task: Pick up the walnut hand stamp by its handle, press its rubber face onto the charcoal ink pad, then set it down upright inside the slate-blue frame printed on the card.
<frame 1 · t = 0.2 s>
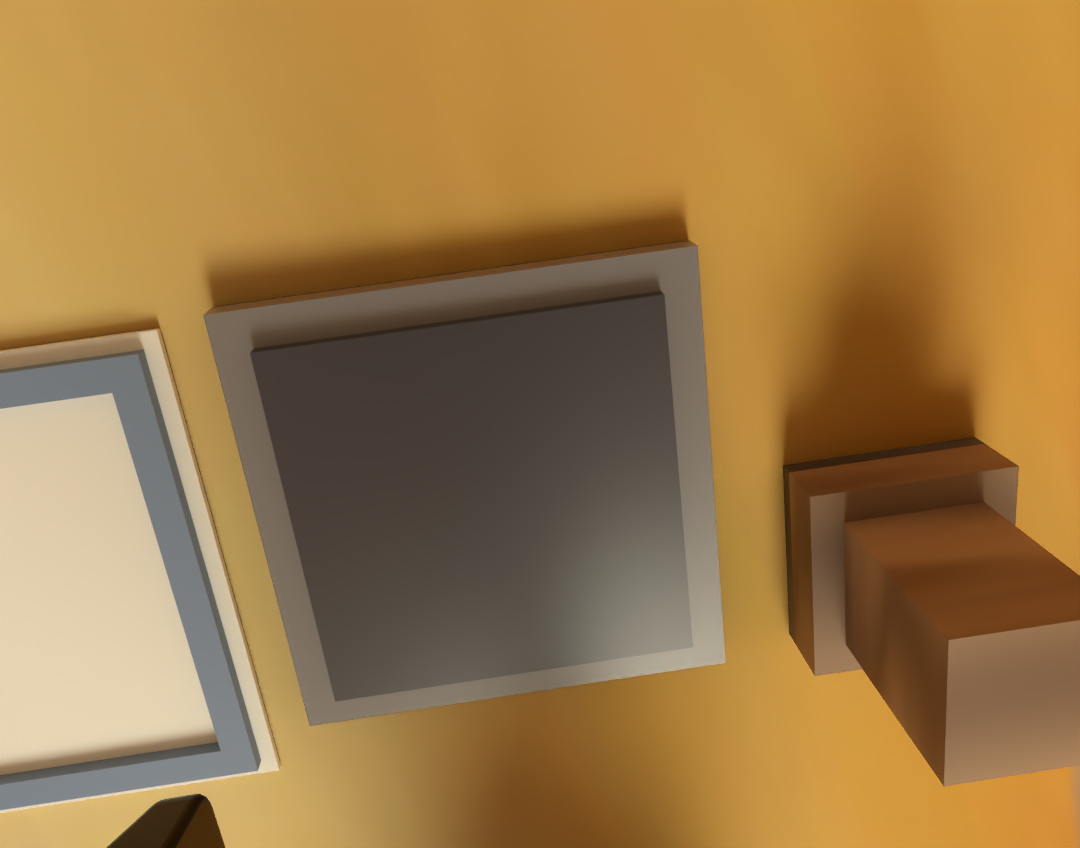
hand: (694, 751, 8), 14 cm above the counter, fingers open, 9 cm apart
ink pad: (487, 491, 23), on the counter
stamp: (878, 537, 24), on the counter
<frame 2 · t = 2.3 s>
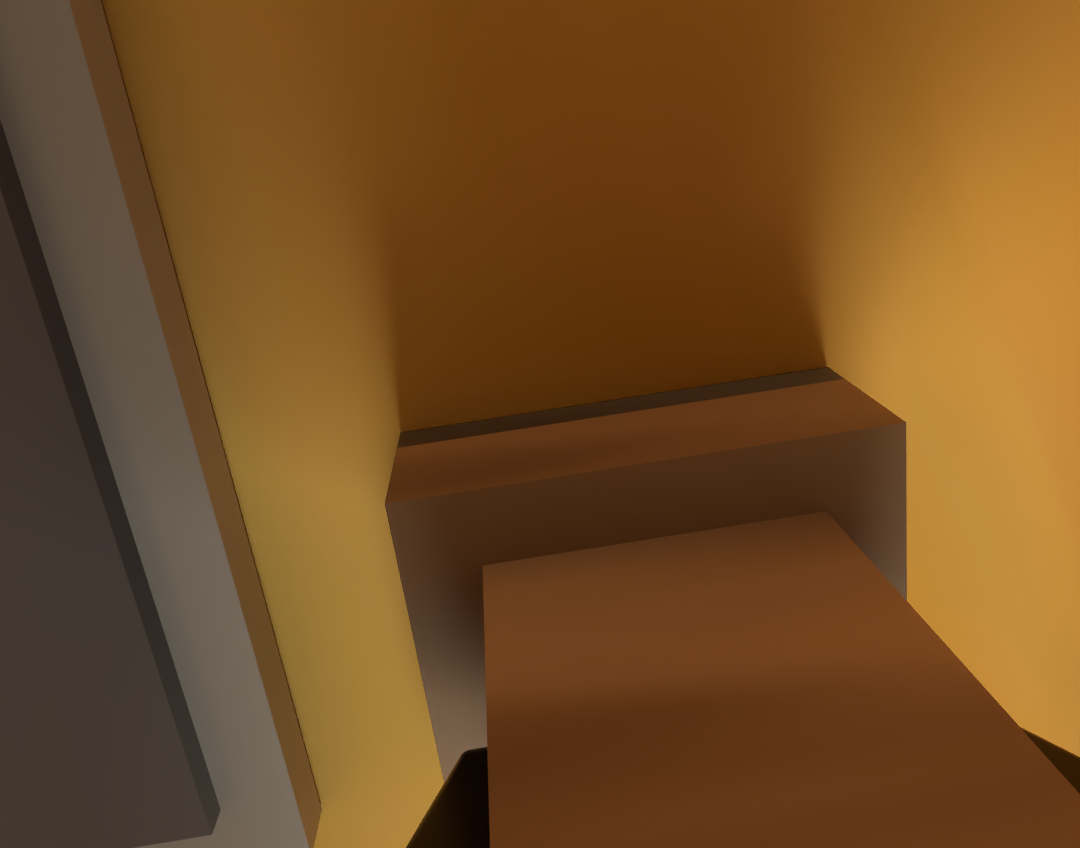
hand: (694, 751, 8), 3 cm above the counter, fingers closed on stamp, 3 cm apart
stamp: (637, 589, 11), on the counter, touching gripper
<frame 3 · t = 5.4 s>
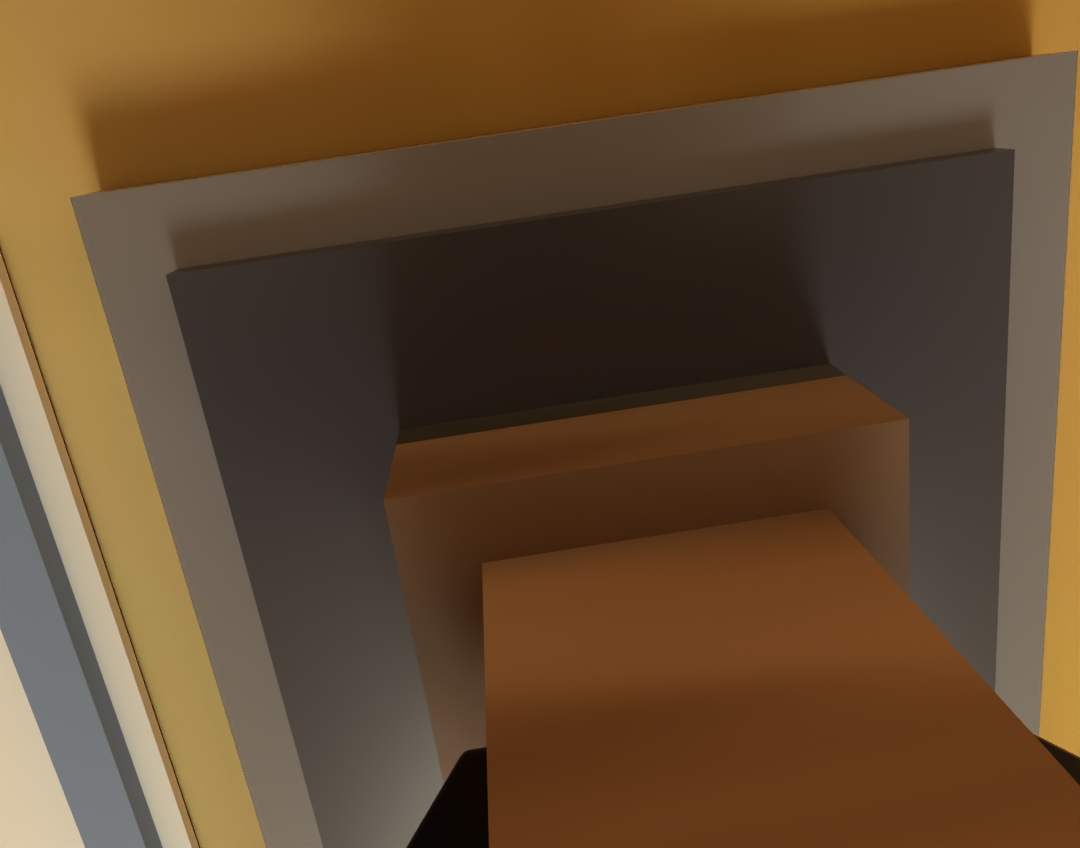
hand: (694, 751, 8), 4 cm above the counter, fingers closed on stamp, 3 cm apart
ink pad: (622, 544, 12), on the counter
stamp: (637, 587, 11), point 1 cm above the counter, touching gripper, ink pad
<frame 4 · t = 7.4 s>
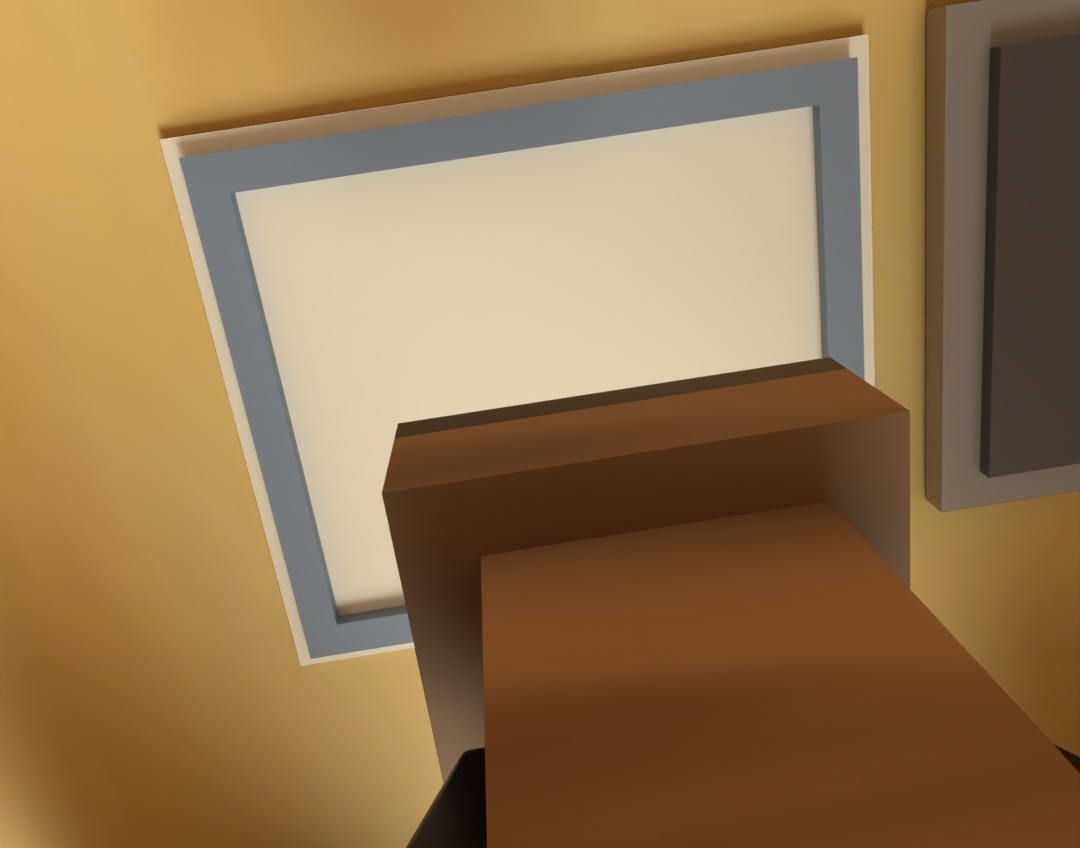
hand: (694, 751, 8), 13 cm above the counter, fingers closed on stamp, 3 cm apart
marked sheet: (557, 377, 20), on the counter
stamp: (637, 581, 11), point 10 cm above the counter, touching gripper
when the fingers open (4 cm above the counter, at t = 8.9 s): stamp stays where it is, resting on marked sheet.
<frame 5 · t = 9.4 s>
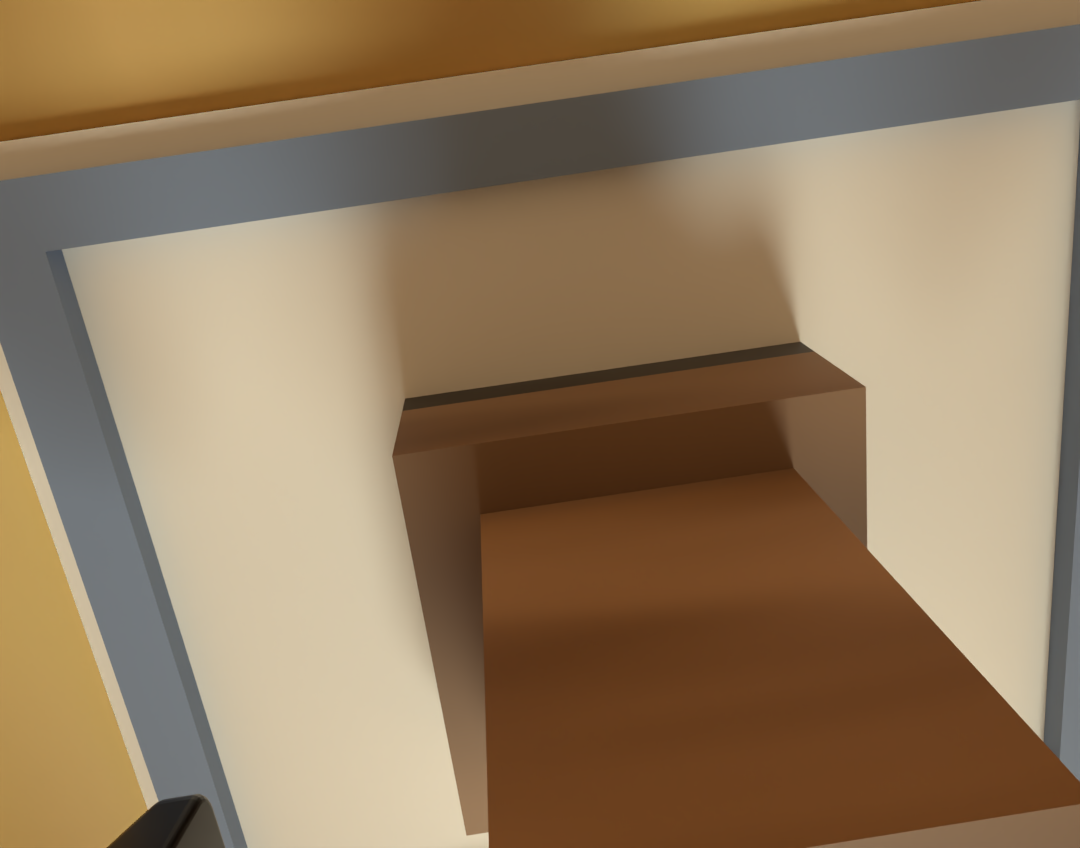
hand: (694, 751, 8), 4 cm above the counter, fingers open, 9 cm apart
marked sheet: (621, 546, 12), on the counter
stamp: (623, 547, 12), resting on marked sheet
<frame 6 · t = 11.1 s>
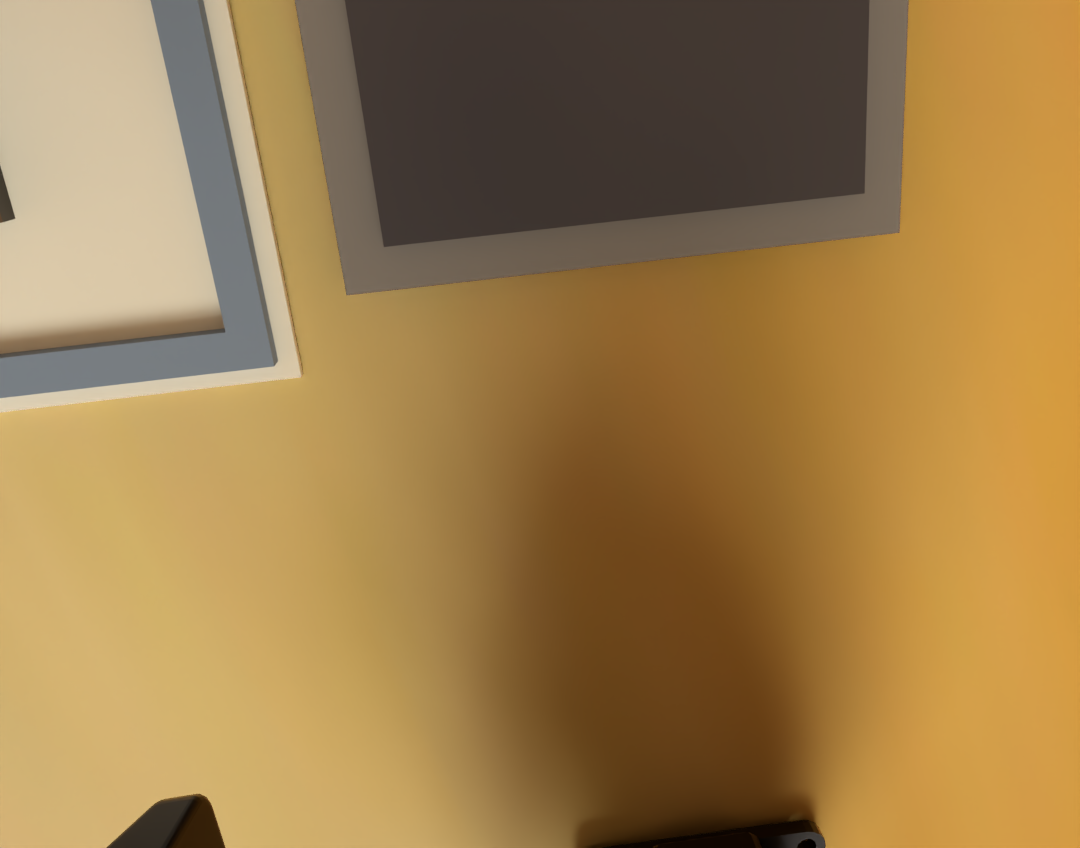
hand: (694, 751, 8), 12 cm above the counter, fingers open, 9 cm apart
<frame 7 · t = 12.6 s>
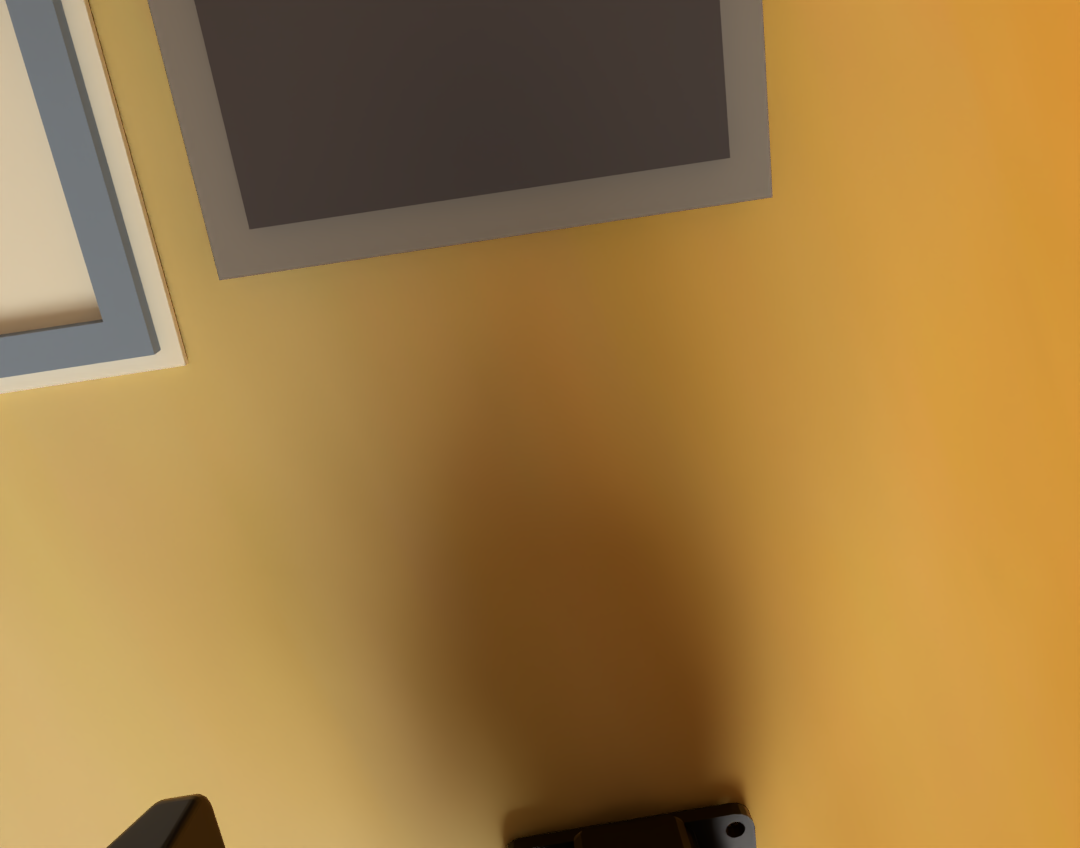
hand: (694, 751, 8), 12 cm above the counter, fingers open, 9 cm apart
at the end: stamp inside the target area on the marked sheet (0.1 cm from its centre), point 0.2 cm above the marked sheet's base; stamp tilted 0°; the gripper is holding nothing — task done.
